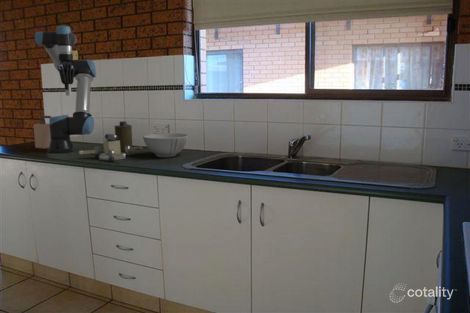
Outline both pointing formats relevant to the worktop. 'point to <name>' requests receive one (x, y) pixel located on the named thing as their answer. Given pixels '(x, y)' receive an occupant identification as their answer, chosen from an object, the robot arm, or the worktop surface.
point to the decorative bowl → (165, 143)
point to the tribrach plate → (111, 147)
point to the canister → (124, 135)
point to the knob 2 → (131, 149)
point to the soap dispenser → (42, 134)
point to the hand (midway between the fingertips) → (68, 95)
